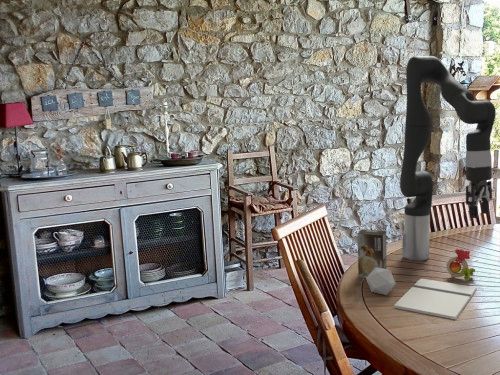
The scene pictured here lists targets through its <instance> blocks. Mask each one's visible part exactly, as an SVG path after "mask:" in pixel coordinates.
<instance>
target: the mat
mask: <svg viewBox="0 0 500 375" xmlns="http://www.w3.org/2000/svg"><path fill="white" fill-rule="evenodd" d="M477 288H478V287H476V286H470V285H464V284H458V283H453V282H446V281H440V280H433V279H427V278H420V279H419V280H417V281H416V282H415V284H413V285H412V287H411V288H410V289H408V290H407V291H406V293H405V294H404V295H402V297H401V298H399V300H398V301H397V302H396V303H395V304H394V305H393V308H395V309H399V310H404V311H408V312H409V311H410V312H414V313H419V314H424V315H425V314H426V315H430V316H436V317H439V318H446V319H452V320H457V318H458V317H459V316H460V314H461V313H462V311H463V310H464V308H466V306H467V304H468V303H469V301H470V300H471V298H472V297H473V295H474V294H475V292H476V291H477Z"/></svg>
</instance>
